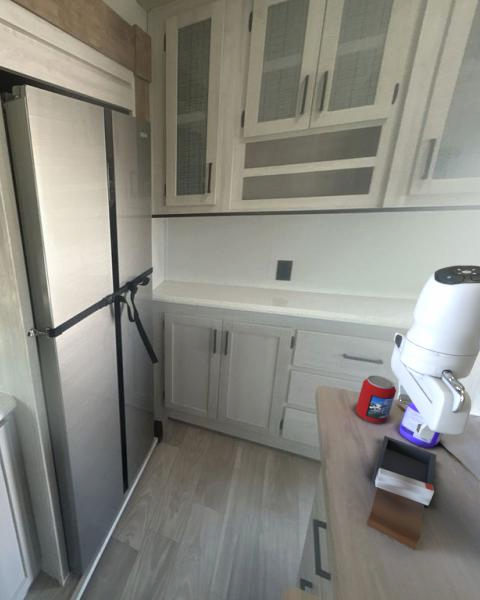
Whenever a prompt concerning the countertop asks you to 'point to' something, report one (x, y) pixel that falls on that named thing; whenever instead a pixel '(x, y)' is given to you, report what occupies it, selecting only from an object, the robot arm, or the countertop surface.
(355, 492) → the countertop surface
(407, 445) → the sink basin
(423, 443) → the bottle
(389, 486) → the white red-tipped brick
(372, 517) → the tap plinth
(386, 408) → the beverage can
